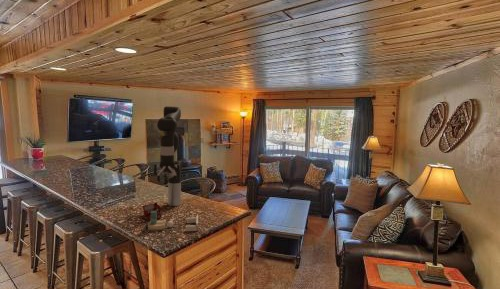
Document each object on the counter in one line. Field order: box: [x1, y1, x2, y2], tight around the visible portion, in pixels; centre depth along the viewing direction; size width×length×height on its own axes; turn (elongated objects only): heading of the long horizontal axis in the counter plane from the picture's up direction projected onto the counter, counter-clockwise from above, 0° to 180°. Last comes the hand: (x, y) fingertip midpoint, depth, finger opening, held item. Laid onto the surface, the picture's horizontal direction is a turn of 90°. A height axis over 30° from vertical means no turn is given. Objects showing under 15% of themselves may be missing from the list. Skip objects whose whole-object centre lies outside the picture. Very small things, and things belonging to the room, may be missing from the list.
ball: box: [166, 220, 175, 228], centre depth 160 cm, size 4×4×4 cm
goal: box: [185, 214, 199, 232], centre depth 162 cm, size 13×7×4 cm, turn 10°
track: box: [143, 220, 181, 232], centre depth 159 cm, size 9×20×2 cm, turn 100°
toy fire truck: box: [142, 201, 163, 222], centre depth 171 cm, size 7×12×10 cm, turn 139°
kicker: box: [147, 211, 167, 230], centre depth 158 cm, size 8×9×9 cm
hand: (167, 181), depth 153 cm, fingers open, 8 cm apart
